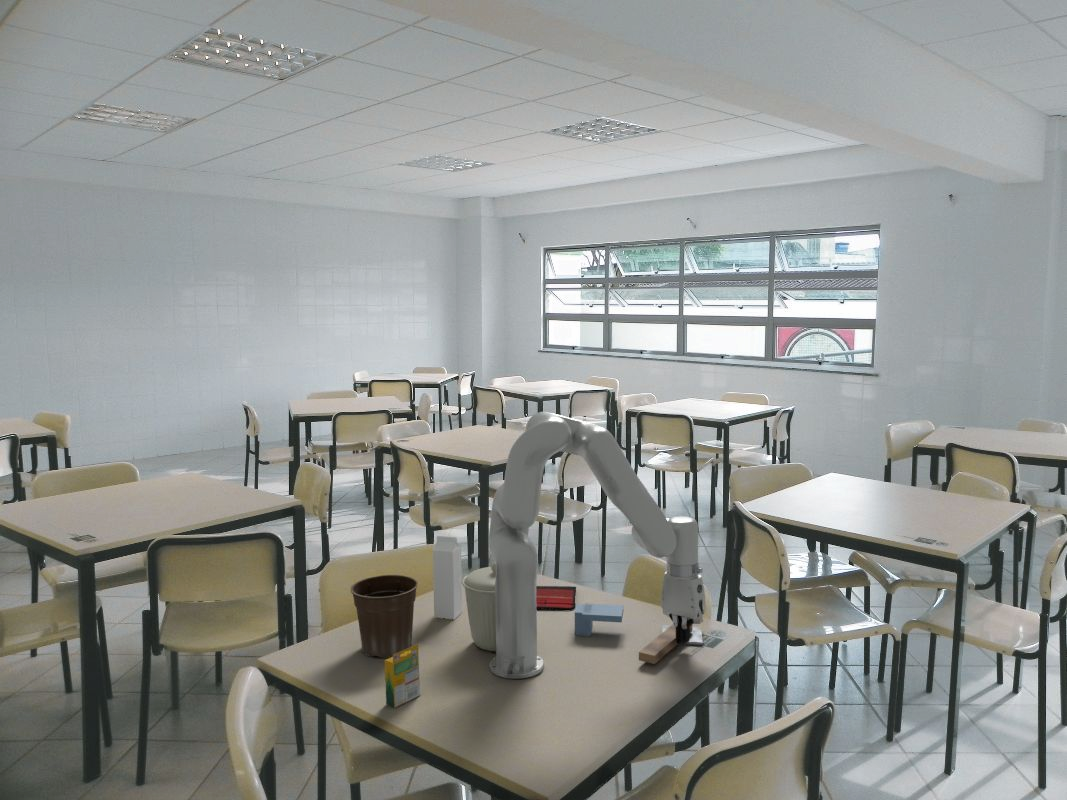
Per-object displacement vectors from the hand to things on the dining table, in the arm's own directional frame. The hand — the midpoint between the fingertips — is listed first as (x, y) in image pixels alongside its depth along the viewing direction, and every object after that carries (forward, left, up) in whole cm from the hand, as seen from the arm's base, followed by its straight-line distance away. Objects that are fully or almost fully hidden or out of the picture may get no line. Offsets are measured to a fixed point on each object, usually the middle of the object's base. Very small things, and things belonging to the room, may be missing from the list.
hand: (682, 642), depth 192 cm
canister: (-2, +45, -3) cm, 45 cm away
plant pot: (-9, +72, -3) cm, 73 cm away
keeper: (+9, +21, -2) cm, 23 cm away
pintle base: (+9, 0, -2) cm, 9 cm away
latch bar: (0, +4, -1) cm, 4 cm away
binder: (+30, +40, -3) cm, 50 cm away
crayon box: (-34, +59, -3) cm, 68 cm away
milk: (+15, +63, -2) cm, 65 cm away
